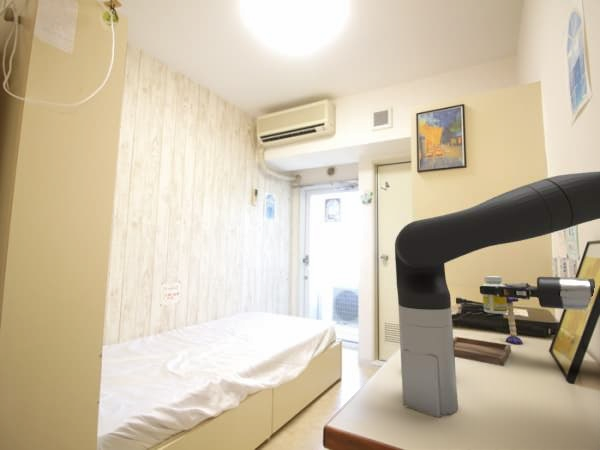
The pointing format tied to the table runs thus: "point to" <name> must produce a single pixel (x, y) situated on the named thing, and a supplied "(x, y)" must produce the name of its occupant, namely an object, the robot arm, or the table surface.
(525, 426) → the table surface
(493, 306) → the supplement bottle
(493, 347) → the tray
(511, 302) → the toy lamp
